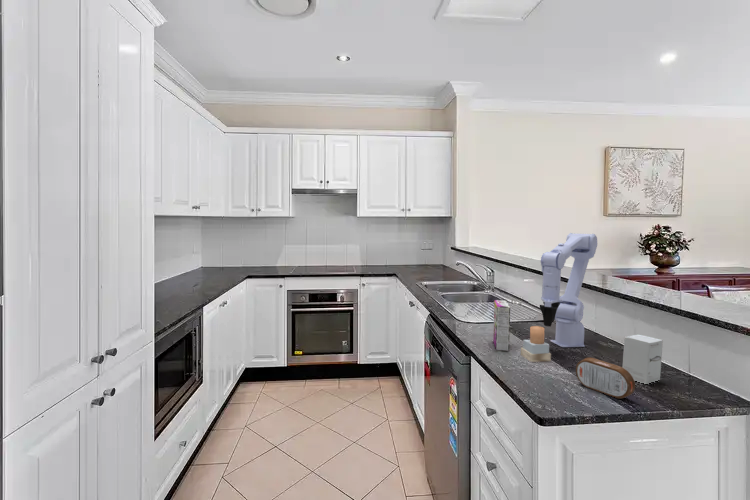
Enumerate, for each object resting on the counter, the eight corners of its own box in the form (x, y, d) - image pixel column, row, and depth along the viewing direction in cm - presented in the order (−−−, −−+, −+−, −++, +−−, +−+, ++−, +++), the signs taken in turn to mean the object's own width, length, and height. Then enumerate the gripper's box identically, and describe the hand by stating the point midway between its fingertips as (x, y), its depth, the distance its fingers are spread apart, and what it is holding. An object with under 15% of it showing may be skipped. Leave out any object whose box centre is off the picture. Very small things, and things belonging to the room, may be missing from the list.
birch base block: (539, 355, 142) (539, 347, 141) (550, 362, 135) (550, 353, 134) (520, 356, 141) (520, 347, 140) (531, 363, 134) (531, 354, 133)
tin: (634, 401, 105) (636, 370, 105) (628, 404, 104) (630, 372, 103) (579, 381, 118) (580, 353, 117) (573, 383, 116) (574, 355, 116)
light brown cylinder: (539, 339, 139) (539, 325, 139) (547, 343, 135) (547, 329, 135) (527, 340, 139) (527, 326, 138) (535, 344, 134) (535, 329, 134)
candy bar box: (492, 341, 156) (493, 299, 154) (505, 342, 155) (507, 300, 153) (494, 350, 145) (496, 305, 144) (509, 351, 144) (511, 306, 143)
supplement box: (646, 386, 115) (649, 343, 114) (620, 376, 122) (623, 336, 121) (661, 381, 119) (664, 339, 118) (635, 373, 125) (637, 333, 124)
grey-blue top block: (539, 347, 141) (539, 339, 140) (548, 353, 135) (549, 344, 134) (523, 348, 140) (523, 339, 139) (532, 354, 134) (532, 345, 134)
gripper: (561, 289, 134) (559, 329, 135) (565, 284, 146) (563, 321, 147) (539, 287, 137) (536, 326, 138) (544, 282, 150) (542, 318, 151)
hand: (549, 323), depth 143 cm, fingers open, 7 cm apart
